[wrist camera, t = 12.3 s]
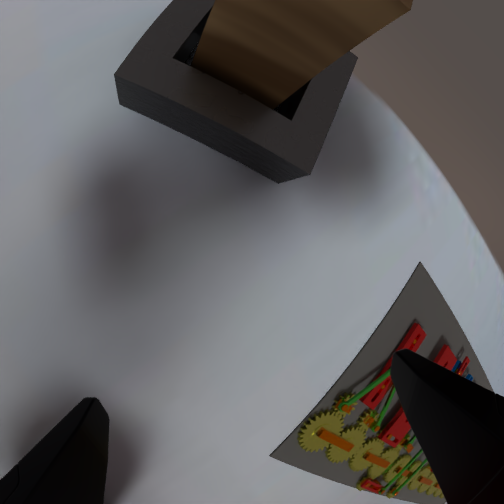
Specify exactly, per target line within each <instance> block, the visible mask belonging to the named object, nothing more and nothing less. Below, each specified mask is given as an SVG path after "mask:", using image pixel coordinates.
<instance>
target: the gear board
mask: <svg viewBox="0 0 504 504" xmlns="http://www.w3.org/2000/svg"><path fill="white" fill-rule="evenodd" d="M404 348H407V349H409V350H411V351H413V352H415V353H417V354H419V355H421V356H423V357H425V358H427V359H429V360H431V361H433V362H435V363H437V364H439V365H441V366H443V367H445V368H447V369H449V370H451V371H453V372H455V373H457V374H458V375H460V376H462V377H464V378H466V379H468V380H470V381H472V382H474V383H476V384H478V385H480V386H482V387H484V388H486V389H488V390H490V391H492V392H494V391H493V389H492V387H491V385H490V383H489V381H488V379H487V376H486V374H485V372H484V370H483V368H482V366H481V364H480V362H479V360H478V358H477V356H476V354H475V352H474V351H473V349H472V347H471V345H470V343H469V341H468V339H467V337H466V336H465V334H464V332H463V330H462V328H461V327H460V325H459V323H458V321H457V320H456V318H455V316H454V314H453V313H452V311H451V309H450V308H449V306H448V304H447V303H446V301H445V299H444V298H443V296H442V294H441V293H440V291H439V290H438V288H437V286H436V285H435V283H434V282H433V280H432V279H431V277H430V275H429V274H428V272H427V271H426V269H425V268H424V266H423V265H422V263H421V262H419V264H418V265H417V267H416V269H415V270H414V272H413V274H412V275H411V277H410V279H409V280H408V282H407V283H406V285H405V287H404V288H403V290H402V291H401V293H400V294H399V296H398V297H397V299H396V301H395V302H394V304H393V305H392V307H391V308H390V310H389V311H388V312H387V314H386V315H385V317H384V318H383V320H382V321H381V323H380V324H379V326H378V327H377V328H376V330H375V331H374V333H373V334H372V335H371V337H370V338H369V340H368V341H367V342H366V344H365V345H364V346H363V348H362V349H361V350H360V352H359V353H358V354H357V356H356V357H355V358H354V360H353V361H352V362H351V363H350V365H349V366H348V367H347V369H346V370H345V371H344V372H343V374H342V375H341V376H340V377H339V379H338V380H337V381H336V382H335V384H334V385H333V386H332V387H331V388H330V390H329V391H328V392H327V393H326V394H325V396H324V397H323V398H322V399H321V400H320V401H319V403H318V404H317V405H316V406H315V407H314V408H313V410H312V411H311V412H310V413H309V414H308V415H307V416H306V417H305V419H304V420H303V421H302V422H301V423H300V424H299V425H298V426H297V427H296V428H295V429H294V431H293V432H292V433H291V434H290V435H289V436H288V437H287V438H286V439H285V440H284V441H283V442H282V443H281V444H280V445H279V446H278V447H277V448H276V449H275V450H274V451H273V452H272V453H271V454H270V455H269V456H270V457H273V458H275V459H277V460H280V461H282V462H284V463H287V464H289V465H292V466H294V467H297V468H299V469H302V470H305V471H307V472H310V473H313V474H315V475H318V476H321V477H324V478H327V479H329V480H332V481H335V482H338V483H342V484H345V485H348V486H351V487H354V488H357V489H358V490H359V491H361V490H365V491H368V492H372V493H375V494H379V495H383V496H387V497H388V498H389V499H390V498H396V499H400V500H404V501H409V502H414V503H419V504H445V502H446V499H445V497H444V495H443V493H442V491H441V488H440V486H439V484H438V482H437V480H436V478H435V475H434V473H433V471H432V469H431V467H430V465H429V463H428V461H427V459H426V457H425V455H424V452H423V450H422V448H421V446H420V444H419V442H418V440H417V438H416V436H415V434H414V432H413V430H412V428H411V426H410V424H409V422H408V420H407V418H406V416H405V413H404V411H403V408H402V406H401V403H400V400H399V397H398V395H397V392H396V390H395V387H394V384H393V382H392V379H391V376H390V369H391V363H392V357H393V354H394V352H395V351H398V350H401V349H404Z"/></svg>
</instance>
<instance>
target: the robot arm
mask: <svg viewBox="0 0 504 504" xmlns="http://www.w3.org/2000/svg"><path fill="white" fill-rule="evenodd" d="M390 376H391V379H392V382H393V384H394V387H395V390H396V392H397V395H398V397H399V400H400V403H401V406H402V408H403V411H404V413H405V416H406V418H407V420H408V422H409V424H410V426H411V428H412V430H413V432H414V434H415V436H416V438H417V440H418V442H419V444H420V446H421V448H422V450H423V452H424V455H425V457H426V459H427V461H428V463H429V465H430V467H431V469H432V471H433V473H434V475H435V478H436V480H437V482H438V484H439V486H440V488H441V491H442V493H443V495H444V497H445V499H446V502H447V504H504V397H503V396H501V395H499V394H495V393H494V392H492V391H490V390H488V389H486V388H484V387H482V386H480V385H478V384H476V383H474V382H472V381H470V380H468V379H466V378H464V377H462V376H460V375H458V374H457V373H455V372H453V371H451V370H449V369H447V368H445V367H443V366H441V365H439V364H437V363H435V362H433V361H431V360H429V359H427V358H425V357H423V356H421V355H419V354H417V353H415V352H413V351H411V350H409V349H407V348H404V349H401V350H398V351H395V352H394V354H393V357H392V363H391V369H390ZM108 441H109V416H108V414H107V412H106V411H105V409H104V407H103V406H102V404H101V403H100V401H99V400H98V399H97V398H95V397H86V398H84V399H83V400H82V401H81V402H80V403H79V404H78V405H77V406H75V407H74V408H73V409H72V410H71V411H70V412H69V413H68V414H67V415H66V416H65V417H64V418H63V419H62V420H61V421H60V422H59V423H58V424H57V425H56V426H55V427H54V428H53V429H52V430H51V431H50V432H49V433H48V434H47V435H46V436H45V437H44V438H43V439H42V440H41V441H40V442H39V443H38V444H37V445H36V446H35V447H34V448H33V449H32V450H31V451H30V452H29V453H28V454H27V455H26V456H25V457H24V458H23V459H22V460H21V461H19V463H18V464H16V465H15V466H14V467H13V468H12V469H11V470H10V471H9V472H8V473H7V474H6V475H5V476H4V477H3V478H2V479H1V480H0V504H103V501H104V491H105V482H106V473H107V465H108Z"/></svg>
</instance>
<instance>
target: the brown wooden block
mask: <svg viewBox="0 0 504 504" xmlns="http://www.w3.org/2000/svg"><path fill="white" fill-rule="evenodd" d="M412 1H413V0H215V2H214V5H213V7H212V10H211V12H210V15H209V17H208V20H207V23H206V25H205V28H204V30H203V33H202V36H201V38H200V41H199V44H198V47H197V49H196V52H195V55H194V58H193V61H192V64H191V67H193V68H195V69H197V70H199V71H201V72H203V73H205V74H207V75H210V76H212V77H214V78H216V79H217V80H219V81H221V82H223V83H225V84H227V85H229V86H231V87H233V88H235V89H237V90H239V91H240V92H242V93H244V94H246V95H248V96H250V97H251V98H253V99H255V100H257V101H259V102H260V103H262V104H264V105H266V106H267V107H269V108H271V109H272V110H273V109H274V108H276V107H277V106H278V105H279V104H281V103H282V102H283V101H284V100H285V99H287V98H288V97H289V96H290V95H292V94H293V93H294V92H295V91H297V90H298V89H299V88H300V87H302V86H303V85H304V84H306V83H307V82H308V81H309V80H311V79H312V78H313V77H315V76H316V75H317V74H319V73H320V72H321V71H322V70H324V69H325V68H326V67H328V66H329V65H330V64H332V63H333V62H335V61H336V60H337V59H339V58H340V57H341V56H343V55H344V54H346V53H347V52H348V51H350V50H351V49H353V48H354V47H355V46H357V45H358V44H360V43H361V42H362V41H364V40H365V39H367V38H368V37H370V36H371V35H372V34H374V33H376V32H377V31H379V30H380V29H382V28H383V27H385V26H386V25H388V24H389V23H391V22H392V21H394V20H395V19H397V18H399V17H400V16H402V15H403V14H405V13H407V12H408V11H410V10H411V6H412Z"/></svg>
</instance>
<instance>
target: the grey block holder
mask: <svg viewBox="0 0 504 504" xmlns="http://www.w3.org/2000/svg"><path fill="white" fill-rule="evenodd" d="M214 2H215V0H173V1H172V2H171V3H170V4H169V5H168V6H167V8H166V9H165V10H164V11H163V12H162V13H161V14H160V16H159V17H158V18H157V19H156V20H155V21H154V23H153V24H152V25H151V26H150V27H149V29H148V30H147V31H146V32H145V34H144V35H143V36H142V37H141V39H140V40H139V41H138V42H137V44H136V45H135V46H134V48H133V49H132V50H131V52H130V53H129V54H128V56H127V57H126V58H125V60H124V61H123V63H122V64H121V65H120V67H119V68H118V70H117V71H116V72H115V74H114V77H115V83H116V88H117V94H118V99H119V104H120V105H122V106H124V107H126V108H129V109H131V110H133V111H135V112H138V113H140V114H142V115H144V116H146V117H149V118H151V119H153V120H155V121H157V122H159V123H162V124H164V125H166V126H168V127H170V128H172V129H174V130H176V131H178V132H180V133H182V134H184V135H186V136H189V137H191V138H193V139H195V140H197V141H199V142H201V143H203V144H205V145H207V146H209V147H211V148H212V149H214V150H216V151H218V152H220V153H222V154H224V155H226V156H228V157H230V158H232V159H234V160H236V161H238V162H239V163H241V164H243V165H245V166H247V167H249V168H251V169H252V170H254V171H256V172H258V173H260V174H262V175H264V176H265V177H267V178H269V179H271V180H273V181H274V182H276V183H278V184H279V183H282V182H286V181H289V180H293V179H296V178H300V177H303V176H307V175H310V174H311V171H312V169H313V167H314V164H315V162H316V159H317V157H318V155H319V152H320V150H321V147H322V145H323V143H324V140H325V138H326V135H327V133H328V131H329V128H330V126H331V123H332V121H333V118H334V116H335V114H336V111H337V109H338V106H339V104H340V101H341V99H342V96H343V94H344V91H345V89H346V86H347V84H348V81H349V79H350V76H351V74H352V71H353V69H354V66H355V64H356V61H357V59H358V57H357V56H355V55H354V54H353V53H351V52H350V51H348V52H347V53H346V54H344V55H343V56H341V57H340V58H339V59H337V60H336V61H335V62H333V63H332V64H330V65H329V66H328V67H326V68H325V69H324V70H322V71H321V72H320V73H319V74H317V75H316V76H315V77H313V78H312V79H311V80H309V81H308V82H307V83H306V84H304V85H303V86H302V87H300V88H299V89H298V90H297V91H295V92H294V93H293V94H292V95H290V96H289V97H288V98H287V99H285V100H284V101H283V102H282V103H281V105H280V107H279V109H278V111H277V112H276V111H274V110H272V109H271V108H269V107H267V106H266V105H264V104H262V103H260V102H259V101H257V100H255V99H253V98H251V97H250V96H248V95H246V94H244V93H242V92H240V91H239V90H237V89H235V88H233V87H231V86H229V85H227V84H225V83H223V82H221V81H219V80H217V79H216V78H214V77H212V76H210V75H207V74H205V73H203V72H201V71H199V70H197V69H195V68H193V67H191V66H189V65H187V64H184V62H185V61H186V59H187V58H188V56H189V55H190V54H191V52H192V51H193V49H194V48H195V47H196V45H197V44H198V43H199V41H200V38H201V36H202V33H203V30H204V28H205V25H206V23H207V20H208V17H209V15H210V12H211V10H212V7H213V5H214Z"/></svg>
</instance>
